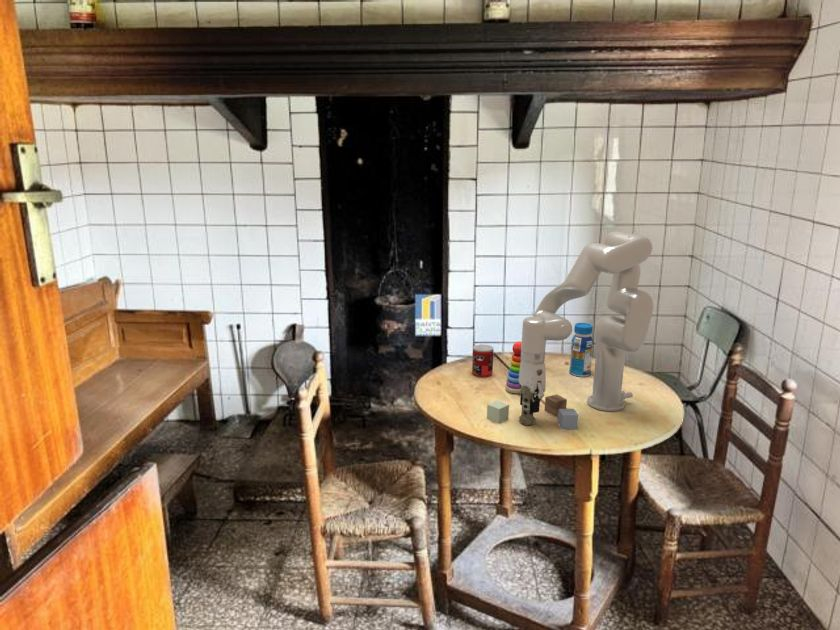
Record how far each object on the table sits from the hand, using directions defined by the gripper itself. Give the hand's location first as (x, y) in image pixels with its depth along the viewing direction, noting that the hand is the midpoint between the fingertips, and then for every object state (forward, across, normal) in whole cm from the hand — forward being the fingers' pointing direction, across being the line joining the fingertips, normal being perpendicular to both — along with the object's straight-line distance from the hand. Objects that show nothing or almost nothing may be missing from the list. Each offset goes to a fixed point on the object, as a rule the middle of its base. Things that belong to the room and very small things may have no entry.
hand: (529, 407), depth 207 cm
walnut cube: (+5, +4, -12) cm, 14 cm away
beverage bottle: (+5, +33, -40) cm, 52 cm away
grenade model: (+5, 0, 0) cm, 5 cm away
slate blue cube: (+5, -7, -10) cm, 13 cm away
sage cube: (+5, +5, +9) cm, 11 cm away
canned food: (+5, +44, -3) cm, 44 cm away
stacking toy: (+5, +25, -8) cm, 27 cm away
